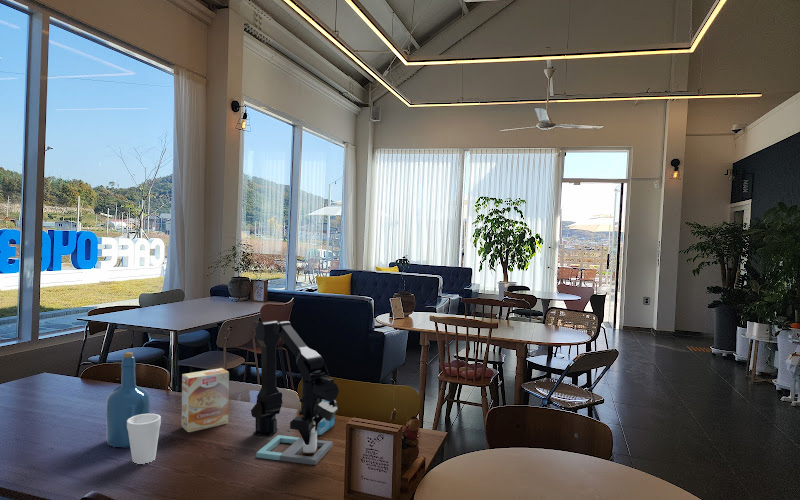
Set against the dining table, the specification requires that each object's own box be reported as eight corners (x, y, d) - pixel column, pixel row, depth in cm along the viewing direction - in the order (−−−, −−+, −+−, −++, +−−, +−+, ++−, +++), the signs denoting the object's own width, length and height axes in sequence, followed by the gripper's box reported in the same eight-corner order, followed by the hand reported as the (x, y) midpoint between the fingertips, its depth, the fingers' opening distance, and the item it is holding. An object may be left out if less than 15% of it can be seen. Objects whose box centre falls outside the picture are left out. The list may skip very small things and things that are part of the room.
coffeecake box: (188, 433, 190) (188, 378, 189) (180, 427, 195) (181, 373, 194) (229, 423, 200) (229, 371, 199) (221, 418, 205) (221, 367, 204)
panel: (256, 457, 171) (256, 452, 171) (277, 439, 186) (277, 435, 186) (315, 464, 167) (315, 460, 166) (332, 446, 181) (332, 441, 181)
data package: (318, 436, 189) (319, 402, 188) (307, 434, 190) (308, 401, 190) (334, 425, 200) (335, 393, 200) (324, 423, 202) (324, 391, 201)
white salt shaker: (315, 453, 173) (315, 424, 172) (302, 453, 173) (303, 424, 173) (317, 448, 177) (317, 420, 176) (305, 448, 177) (305, 419, 177)
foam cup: (127, 469, 161) (127, 426, 161) (126, 457, 169) (126, 416, 169) (161, 463, 166) (161, 421, 165) (159, 451, 174) (159, 411, 173)
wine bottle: (156, 441, 182) (157, 353, 181) (114, 453, 172) (114, 359, 171) (140, 430, 191) (140, 346, 190) (99, 440, 181) (99, 352, 180)
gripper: (323, 406, 163) (322, 456, 164) (344, 388, 181) (343, 434, 182) (289, 402, 166) (288, 452, 166) (313, 385, 184) (312, 430, 185)
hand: (310, 441), depth 175 cm, fingers closed on white salt shaker, 4 cm apart
